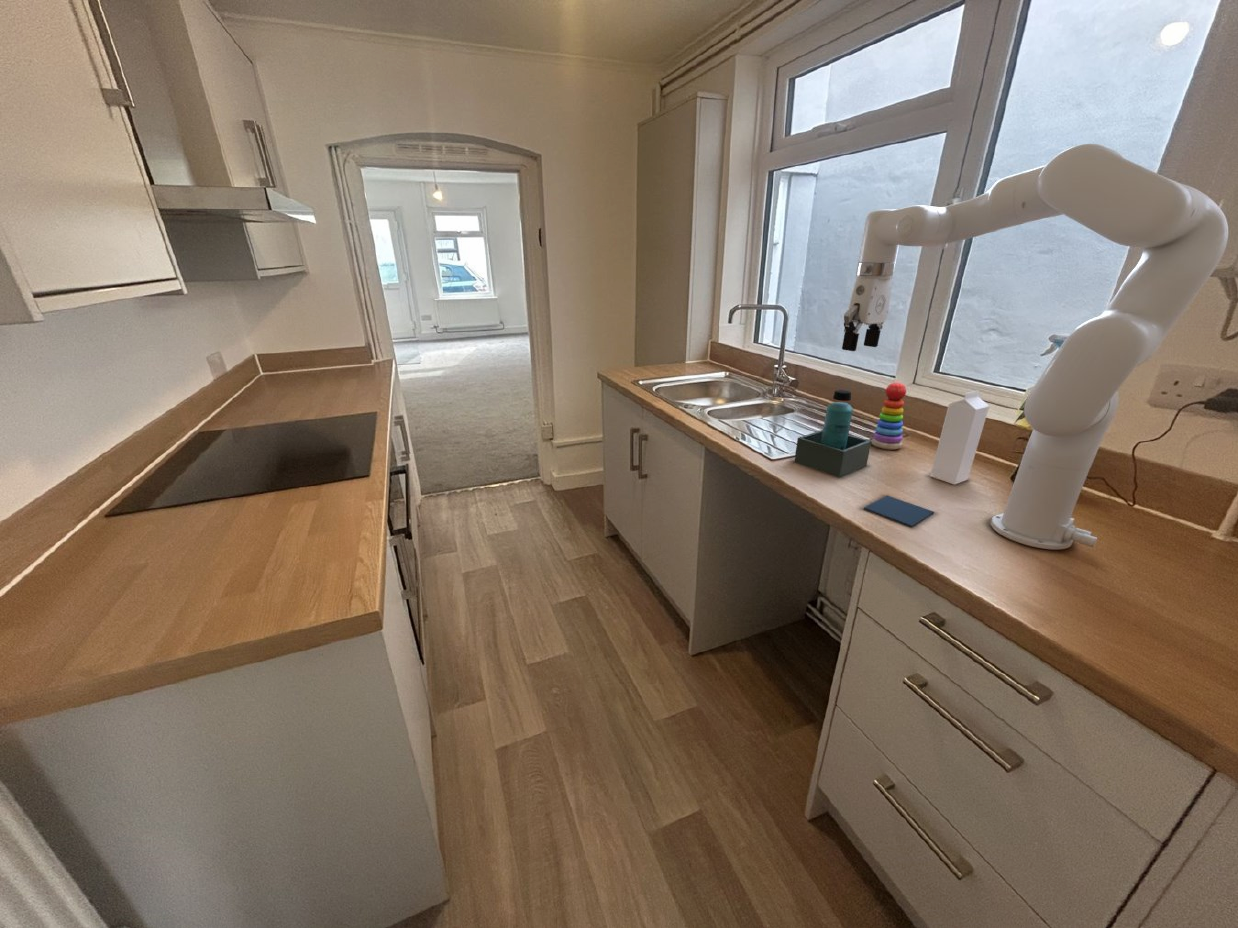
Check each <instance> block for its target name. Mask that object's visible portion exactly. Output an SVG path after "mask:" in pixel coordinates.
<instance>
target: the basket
mask: <svg viewBox="0 0 1238 928" xmlns="http://www.w3.org/2000/svg"><path fill="white" fill-rule="evenodd" d="M822 431H823V429H820V430H817V431H814V432H812V433H808V434H806V435H803V436H800V437H799V436H798V437H797V441H796V447H795V454H794V461H793V463H796V464H799V465H801V466H804V467H807V468H810V469H813V470H815V471H819V472H822V473H824V474H828V475H830V476H832V477H835V478H842V477H844V476H846V475H849V474H852V473H853V472H856V471H858V470H860V469H863V468H864V467H867V466H868V461H869V456H870V450H871V445H872V440H869V439H865V438H862V437H858V436H854V435H851V434H848V439H847V440H848V441H847V443H846V445H847V446H846V449H845V450H840V449H837V448H834V447H830V446H827V445H824V444H821V438H822V436H821V435H822V433H823V432H822Z"/></svg>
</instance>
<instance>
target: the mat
mask: <svg viewBox="0 0 1238 928" xmlns="http://www.w3.org/2000/svg"><path fill="white" fill-rule="evenodd" d="M863 509H864V510H865V511H868V512H871V513H873V514H876V515H879V516H881V517H883V518H886V519H888V520H891V521H894V522H897V523H899V524H902V525H904V526H907V527H910V528H913V527H915V526H916V525H918V524H919V523H921V522H922V521H924V520H926V519H927V518H928V517H930V516H932V515H933V514H935V511H934V510H930V509H927V508H924V507H921V506H919V505H916V504H913V503H910V502H907V501H905V500H901V499H898V498H896V497H893V496H890V495H885V496H883V497H881V498H879V499H877V500H875V501H873V502H872V503H870V504H868V505H866V506H864V508H863Z"/></svg>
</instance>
